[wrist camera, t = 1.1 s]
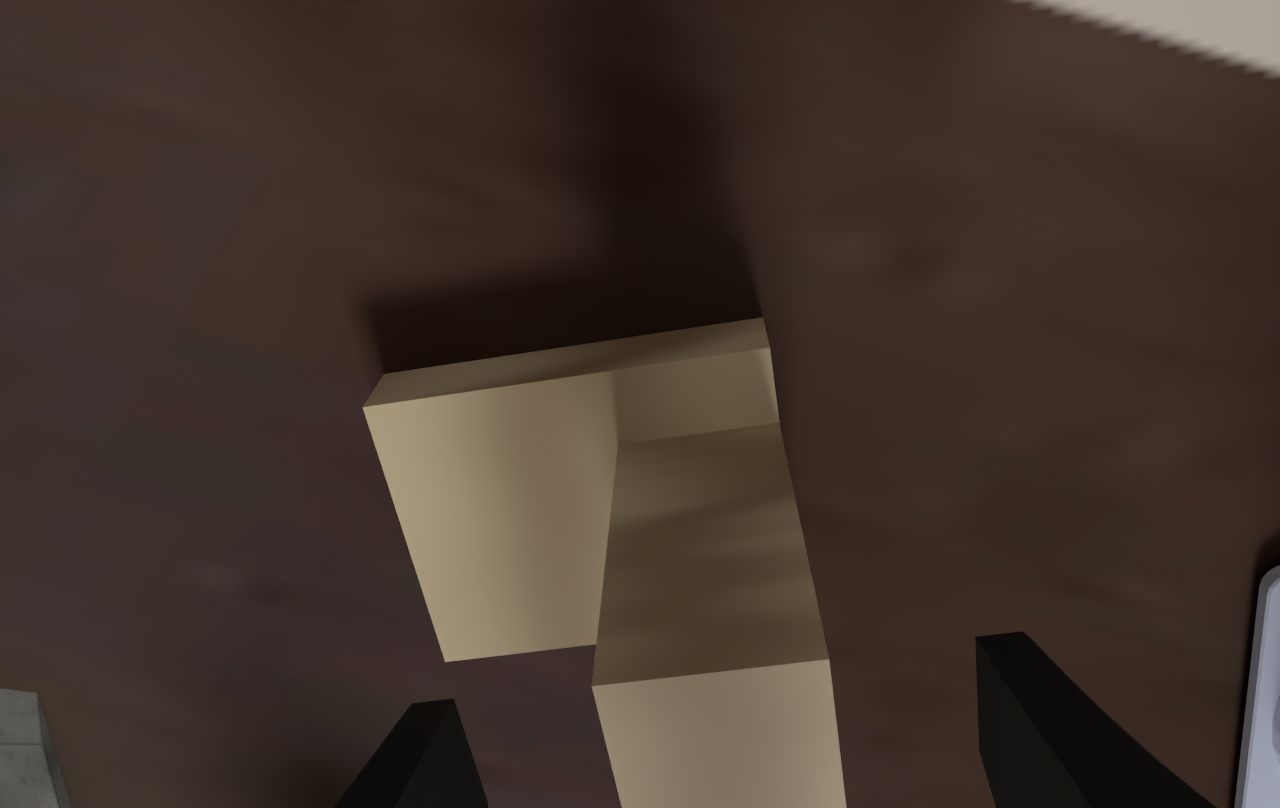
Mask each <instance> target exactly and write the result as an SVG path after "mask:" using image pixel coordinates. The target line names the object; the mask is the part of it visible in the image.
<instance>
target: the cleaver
mask: <svg viewBox="0 0 1280 808" xmlns="http://www.w3.org/2000/svg"><path fill="white" fill-rule="evenodd" d="M0 808H71V805H70V801H69V798H68V795H67V791H66V788H65V784H64V781H63V778H62V774H61V771H60V768H59V764H58V761H57V758H56V754H55V751H54V748H53V744H52V741H51V738H50V734H49V731H48V728H47V724H46V721H45V718H44V714H43V711H42V707H41V704H40V701H39V697H38V694H37V693H31V692H23V691H16V690H8V689H0Z"/></svg>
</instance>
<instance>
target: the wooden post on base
mask: <svg viewBox="0 0 1280 808" xmlns="http://www.w3.org/2000/svg"><path fill="white" fill-rule="evenodd" d="M363 410H364V413H365V416H366V419H367V422H368V425H369V428H370V431H371V435H372V438H373V441H374V444H375V447H376V450H377V453H378V456H379V459H380V462H381V465H382V468H383V471H384V475H385V478H386V481H387V484H388V487H389V490H390V493H391V496H392V499H393V502H394V505H395V508H396V511H397V515H398V518H399V521H400V524H401V527H402V530H403V533H404V536H405V539H406V542H407V545H408V548H409V551H410V555H411V558H412V561H413V564H414V567H415V570H416V573H417V576H418V579H419V582H420V585H421V588H422V591H423V595H424V598H425V601H426V604H427V607H428V610H429V613H430V616H431V619H432V622H433V625H434V628H435V631H436V635H437V638H438V641H439V644H440V647H441V650H442V653H443V656H444V659H445V662H449V661H458V660H466V659H475V658H483V657H491V656H500V655H508V654H517V653H525V652H534V651H542V650H551V649H559V648H567V647H576V646H584V645H593V644H596V652H595V662H594V671H593V680H592V689H593V693H594V697H595V701H596V705H597V709H598V713H599V717H600V721H601V725H602V729H603V733H604V737H605V741H606V745H607V749H608V754H609V758H610V762H611V766H612V770H613V774H614V778H615V782H616V786H617V790H618V794H619V798H620V802H621V806H622V808H846V801H845V792H844V783H843V775H842V766H841V758H840V749H839V740H838V732H837V723H836V714H835V706H834V697H833V689H832V680H831V671H830V663H829V656H828V652H827V647H826V642H825V637H824V633H823V628H822V623H821V618H820V614H819V609H818V604H817V599H816V595H815V590H814V585H813V580H812V576H811V571H810V566H809V561H808V556H807V552H806V547H805V542H804V537H803V533H802V528H801V523H800V518H799V514H798V509H797V504H796V499H795V495H794V490H793V485H792V480H791V476H790V471H789V466H788V461H787V457H786V452H785V447H784V442H783V437H782V433H781V428H780V423H779V416H778V408H777V400H776V392H775V384H774V376H773V368H772V360H771V353H770V346H769V341H768V337H767V333H766V328H765V324H764V319H763V317H761V318H754V319H748V320H741V321H734V322H728V323H721V324H714V325H708V326H701V327H694V328H688V329H681V330H674V331H668V332H661V333H654V334H648V335H641V336H634V337H628V338H621V339H614V340H608V341H601V342H594V343H588V344H581V345H574V346H568V347H561V348H554V349H548V350H541V351H534V352H528V353H521V354H514V355H508V356H501V357H494V358H488V359H481V360H474V361H468V362H461V363H454V364H448V365H441V366H434V367H428V368H421V369H414V370H408V371H401V372H394V373H388V374H384V375H383V376H382V378H381V380H380V381H379V383H378V384H377V386H376V387H375V389H374V390H373V392H372V394H371V395H370V397H369V398H368V400H367V401H366V403H365V404H364V406H363Z"/></svg>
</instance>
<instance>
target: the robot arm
mask: <svg viewBox="0 0 1280 808" xmlns="http://www.w3.org/2000/svg"><path fill="white" fill-rule="evenodd" d="M975 639H976V667H977V695H978V723H979V751H980V755H981V758H982V761H983V765H984V768H985V772H986V775H987V778H988V782H989V785H990V789H991V792H992V795H993V798H994V802H995V805H996V808H1217V807H1216V806H1214V805H1213V804H1212V803H1211V802H1209V801H1208V800H1207V799H1205V798H1204V797H1203V796H1201V795H1200V794H1199V793H1198V792H1196V791H1195V790H1194V789H1193V788H1192V787H1190V786H1189V785H1188V784H1187V783H1185V782H1184V781H1183V780H1182V779H1180V778H1179V777H1178V776H1177V775H1176V774H1174V773H1173V772H1172V771H1171V770H1169V769H1168V768H1167V767H1166V766H1165V765H1163V764H1162V763H1161V762H1160V761H1159V760H1158V759H1156V758H1155V757H1154V756H1153V755H1152V754H1151V753H1149V752H1148V751H1147V750H1146V749H1145V748H1144V747H1143V746H1141V745H1140V744H1139V743H1138V742H1137V741H1136V740H1135V739H1134V738H1133V737H1131V736H1130V735H1129V734H1128V733H1127V732H1126V731H1125V730H1124V729H1123V728H1121V727H1120V726H1119V725H1118V724H1117V723H1116V722H1115V721H1114V720H1113V719H1112V718H1110V717H1109V716H1108V715H1107V714H1106V713H1105V712H1104V711H1103V710H1102V709H1101V708H1100V707H1099V706H1098V705H1097V704H1096V703H1094V702H1093V701H1092V700H1091V699H1090V698H1089V697H1088V696H1087V695H1086V694H1085V693H1084V692H1083V691H1082V690H1081V689H1080V688H1079V687H1078V686H1077V685H1076V684H1075V683H1074V682H1073V681H1072V680H1071V679H1070V678H1069V677H1068V676H1067V675H1066V674H1065V673H1064V672H1063V671H1062V670H1061V669H1060V668H1059V667H1058V666H1057V665H1056V664H1055V663H1054V662H1053V661H1052V660H1051V659H1050V658H1049V657H1048V656H1047V655H1046V653H1045V652H1044V651H1043V650H1042V649H1041V648H1040V647H1039V646H1038V645H1037V644H1036V643H1035V642H1034V641H1033V640H1032V639H1031V638H1030V637H1029V636H1028V635H1026V634H1025V633H1024V632H1014V633H1005V634H997V635H988V636H980V637H975ZM333 808H488V802H487V799H486V796H485V793H484V790H483V787H482V784H481V781H480V777H479V774H478V771H477V768H476V765H475V762H474V759H473V756H472V753H471V750H470V747H469V744H468V741H467V738H466V735H465V732H464V729H463V726H462V723H461V720H460V716H459V713H458V710H457V707H456V704H455V701H454V699H446V700H437V701H429V702H420V703H412V704H411V706H410V707H409V708H408V709H407V711H406V712H405V713H404V715H403V716H402V717H401V718H400V720H399V721H398V722H397V724H396V725H395V726H394V728H393V729H392V730H391V732H390V733H389V734H388V736H387V737H386V738H385V740H384V741H383V742H382V744H381V745H380V746H379V748H378V749H377V751H376V752H375V753H374V755H373V756H372V757H371V759H370V760H369V761H368V763H367V764H366V765H365V767H364V768H363V769H362V771H361V772H360V773H359V775H358V776H357V777H356V779H355V780H354V781H353V783H352V784H351V785H350V787H349V788H348V789H347V790H346V792H345V793H344V794H343V796H342V797H341V798H340V799H339V801H338V802H337V803H336V805H335V806H334V807H333ZM1234 808H1280V565H1279V566H1276V567H1275V568H1273V569H1271V570H1270V571H1268V572H1267V573H1266V575H1265V576H1264V577H1263V578H1262V580H1261V583H1260V586H1259V594H1258V603H1257V611H1256V620H1255V629H1254V638H1253V647H1252V656H1251V665H1250V674H1249V682H1248V691H1247V700H1246V709H1245V718H1244V727H1243V736H1242V744H1241V753H1240V762H1239V771H1238V780H1237V789H1236V798H1235V807H1234Z"/></svg>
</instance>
